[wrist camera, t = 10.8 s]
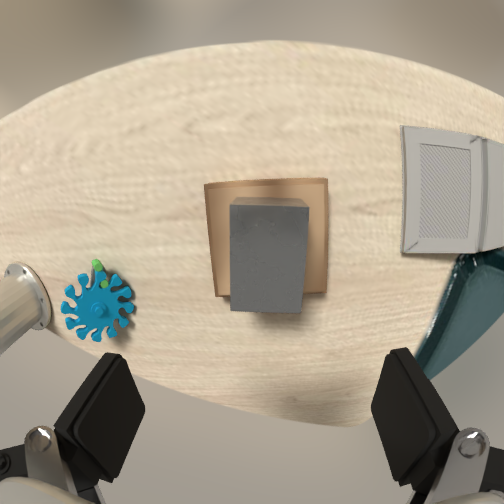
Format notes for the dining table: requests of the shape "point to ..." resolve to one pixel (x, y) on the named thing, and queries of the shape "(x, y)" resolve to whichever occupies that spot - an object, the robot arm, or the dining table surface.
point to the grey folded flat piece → (451, 192)
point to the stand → (303, 188)
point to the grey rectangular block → (267, 254)
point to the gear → (97, 304)
